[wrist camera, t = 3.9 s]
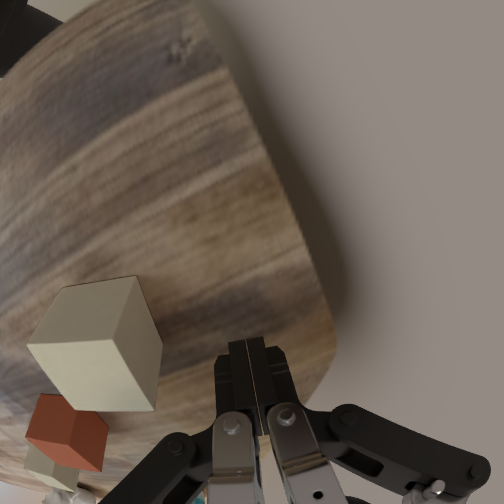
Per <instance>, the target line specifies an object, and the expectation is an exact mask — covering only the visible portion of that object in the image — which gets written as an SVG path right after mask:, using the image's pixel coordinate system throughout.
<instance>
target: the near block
mask: <svg viewBox="0 0 504 504" xmlns="http://www.w3.org/2000/svg"><path fill="white" fill-rule="evenodd" d="M26 345H27V347H28V349H29V350H30V352H31V353H32V355H33V356H34V358H35V359H36V360H37V362H38V363H39V365H40V366H41V368H42V369H43V370H44V372H45V373H46V374H47V376H48V377H49V378H50V380H51V381H52V382H53V384H54V385H55V386H56V388H57V389H58V390H59V391H60V393H61V394H62V395H63V396H64V397H65V399H66V400H67V401H68V402H69V403H70V405H71V406H72V407H73V408H74V409H75V410H85V411H155V405H156V395H157V387H158V378H159V371H160V363H161V356H162V349H163V343H162V341H161V338H160V336H159V334H158V331H157V329H156V326H155V324H154V321H153V319H152V316H151V314H150V311H149V309H148V306H147V303H146V301H145V298H144V295H143V293H142V290H141V287H140V284H139V282H138V279H137V276H131V277H125V278H119V279H113V280H107V281H101V282H94V283H88V284H82V285H76V286H70V287H64V288H62V289H61V290H60V292H59V293H58V295H57V296H56V298H55V299H54V301H53V302H52V304H51V305H50V307H49V308H48V310H47V311H46V313H45V314H44V316H43V317H42V319H41V321H40V322H39V324H38V325H37V327H36V329H35V330H34V332H33V334H32V335H31V337H30V339H29V340H28V342H27V344H26Z"/></svg>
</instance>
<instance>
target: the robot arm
mask: <svg viewBox="0 0 504 504" xmlns="http://www.w3.org/2000/svg"><path fill="white" fill-rule="evenodd" d="M246 341H247V346H248V352H249V358H250V363H251V368H250V363H249V358H248V353H247V348H246V343H245V340H239V341H233V342H228V345H229V354H226V355H220V356H218V357H217V360H216V362H215V364H214V375H215V394H216V410H217V415H216V419H215V421H214V423H213V424H212V425H211V426H210V427H209V428H208V429H206V430H204V431H202V432H200V433H197V434H195V435H192V436H189V435H187V434H185V433H181V432H175V433H171V434H169V435H167V436H165V437H164V438H163V439H162V440H161V441H160V442H159V443H158V444H157V445H156V446H155V447H154V448H153V450H152V451H151V452H150V453H149V454H148V455H147V456H146V457H145V458H144V459H143V460H142V461H141V462H140V463H139V464H138V465H137V466H136V467H135V468H134V469H133V470H132V471H131V472H130V473H129V474H128V475H127V476H126V477H125V478H124V479H123V480H122V481H121V482H120V483H119V484H118V485H117V486H116V487H115V488H114V489H113V490H112V491H111V492H110V493H108V494H107V495H106V496H105V497H104V498H103V499H102V500H101V501H100V502H99V503H98V504H191V503H192V502H193V501H194V500H195V499H196V497H197V496H198V495H199V494H200V493H201V492H202V490H203V489H204V488H205V487H206V486H207V504H265V501H264V495H263V488H262V476H261V464H260V453H259V452H260V446H259V441H258V436H263V434H262V429H261V423H260V418H259V413H258V407H259V412H260V417H261V422H262V426H263V431H264V435H268V434H269V436H270V441H271V445H272V450H273V454H274V457H275V460H276V464H277V467H278V470H279V473H280V476H281V479H282V483H283V486H284V489H285V493H286V496H287V499H288V503H289V504H370V503H368V502H366V501H364V500H361V499H359V498H355V497H351V496H345V495H344V493H343V491H342V488H341V486H340V484H339V481H338V479H337V477H336V475H335V472H334V470H333V468H332V466H331V463H330V461H332V462H334V463H336V464H338V465H339V466H341V467H343V468H345V469H347V470H348V471H350V472H352V473H354V474H356V475H358V476H360V477H362V478H364V479H366V480H368V481H370V482H373V483H375V484H377V485H379V486H381V487H383V488H385V489H388V490H390V491H392V492H394V493H397V494H399V495H402V496H404V497H403V500H402V504H466V502H467V499H468V497H469V496H470V494H471V493H473V492H474V491H476V490H477V489H479V488H480V487H481V486H483V485H484V484H485V483H486V482H487V480H488V479H489V476H490V473H491V467H490V463H489V461H488V460H487V459H486V458H484V457H483V456H480V455H477V454H474V453H471V452H468V451H465V450H462V449H459V448H456V447H454V446H451V445H448V444H445V443H443V442H440V441H437V440H435V439H432V438H430V437H427V436H425V435H422V434H420V433H417V432H415V431H412V430H410V429H408V428H405V427H403V426H400V425H398V424H396V423H394V422H391V421H389V420H387V419H385V418H383V417H380V416H378V415H376V414H374V413H372V412H369V411H367V410H365V409H363V408H361V407H359V406H357V405H354V404H343V405H340V406H338V407H336V408H335V409H333V410H332V412H324V411H312V410H310V409H307V408H306V407H304V406H303V405H302V404H301V403H300V401H299V399H298V396H297V393H296V390H295V386H294V383H293V380H292V377H291V373H290V370H289V367H288V364H287V360H286V357H285V354H284V352H283V351H282V350H281V349H280V348H279V347H278V346H272V347H267V348H265V343H264V339H263V336H261V337H256V338H250V339H246ZM251 369H252V374H251ZM252 375H253V379H252ZM253 380H254V385H253ZM254 386H255V391H256V396H255V391H254ZM256 397H257V402H258V407H257V402H256ZM329 460H330V461H329Z"/></svg>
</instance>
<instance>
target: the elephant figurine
mask: <svg viewBox="0 0 504 504" xmlns="http://www.w3.org/2000/svg"><path fill="white" fill-rule="evenodd" d="M42 504H96V498H95V496H94V494H92V493H91V492H90V491H87V490H85V489H82V488H79V487H77V488H76V492H71V491H67V490H63V489H59V488H56V487H52V491H51V492H49V493H48V494H47V495H46V497H45V499H44V500H43V501H42Z"/></svg>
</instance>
